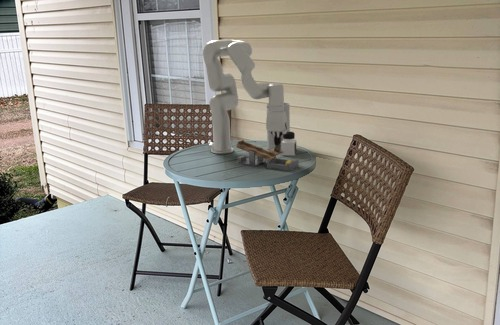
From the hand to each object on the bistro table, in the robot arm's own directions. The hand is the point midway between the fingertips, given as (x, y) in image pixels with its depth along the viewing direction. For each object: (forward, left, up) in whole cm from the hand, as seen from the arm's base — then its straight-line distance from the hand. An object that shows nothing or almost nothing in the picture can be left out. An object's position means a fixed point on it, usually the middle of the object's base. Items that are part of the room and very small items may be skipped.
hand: (277, 144), depth 259 cm
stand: (-10, -10, -8) cm, 17 cm away
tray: (+9, -10, -8) cm, 16 cm away
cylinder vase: (-12, +22, -8) cm, 26 cm away
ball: (+12, -10, -6) cm, 17 cm away
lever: (-7, -6, -3) cm, 9 cm away
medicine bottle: (-1, +14, -8) cm, 16 cm away
